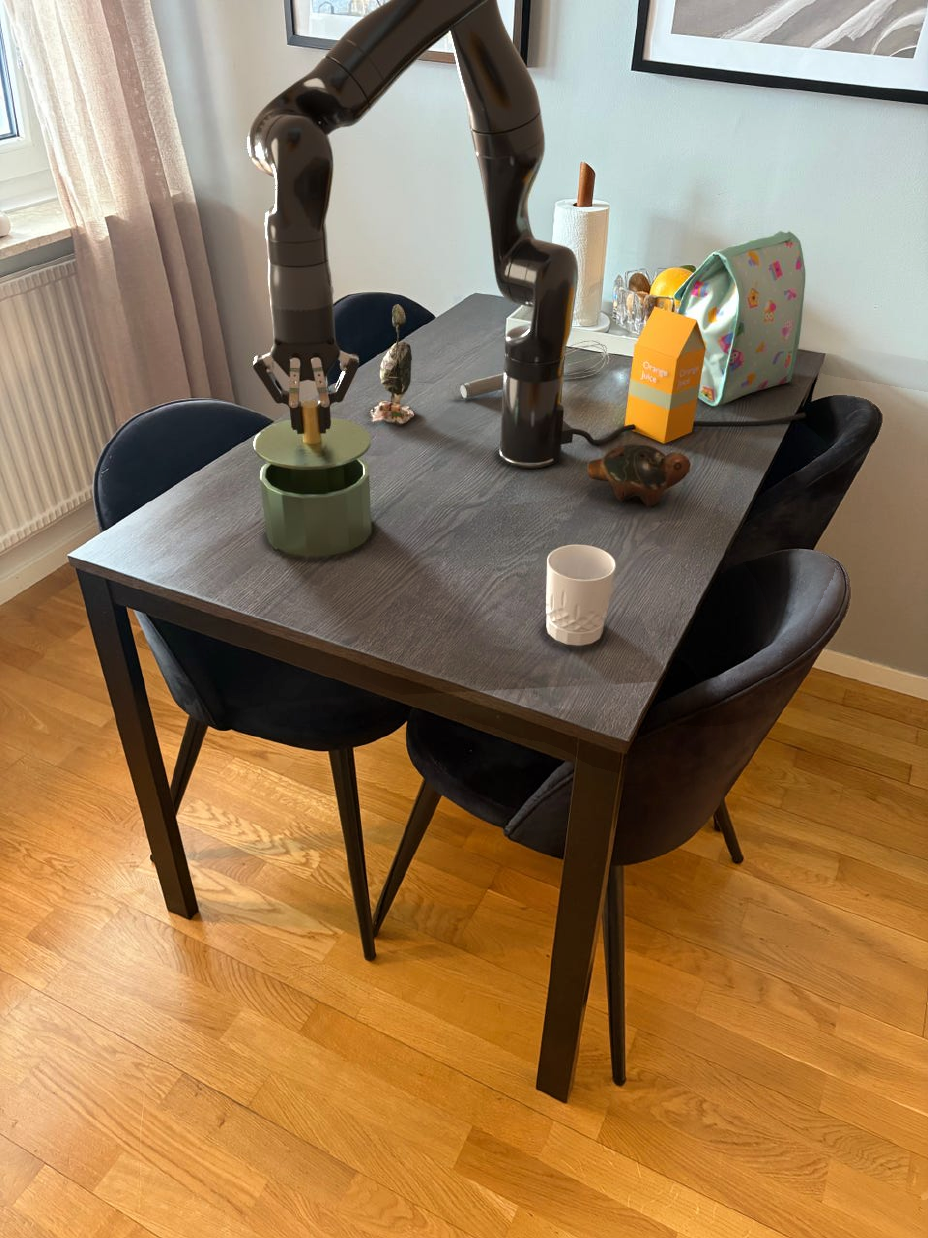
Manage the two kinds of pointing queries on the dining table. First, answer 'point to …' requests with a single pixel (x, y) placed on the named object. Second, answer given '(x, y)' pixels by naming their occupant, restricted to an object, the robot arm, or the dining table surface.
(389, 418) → the plant with pod
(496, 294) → the dining table surface
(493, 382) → the kitchen whisk
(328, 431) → the lid
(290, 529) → the tin
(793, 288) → the lunch bag
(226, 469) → the dining table surface
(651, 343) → the orange juice
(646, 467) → the decorative turtle
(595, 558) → the white cup
